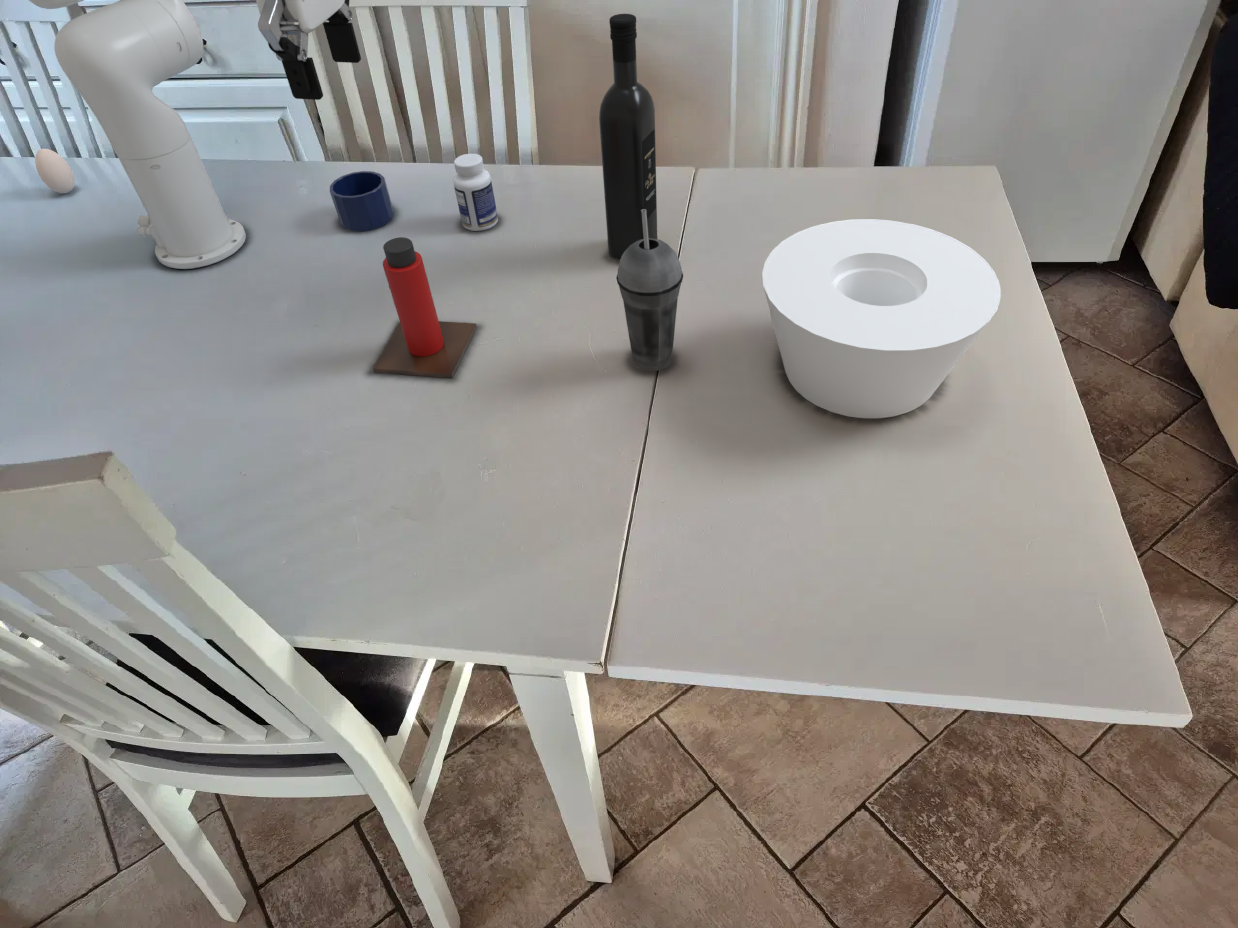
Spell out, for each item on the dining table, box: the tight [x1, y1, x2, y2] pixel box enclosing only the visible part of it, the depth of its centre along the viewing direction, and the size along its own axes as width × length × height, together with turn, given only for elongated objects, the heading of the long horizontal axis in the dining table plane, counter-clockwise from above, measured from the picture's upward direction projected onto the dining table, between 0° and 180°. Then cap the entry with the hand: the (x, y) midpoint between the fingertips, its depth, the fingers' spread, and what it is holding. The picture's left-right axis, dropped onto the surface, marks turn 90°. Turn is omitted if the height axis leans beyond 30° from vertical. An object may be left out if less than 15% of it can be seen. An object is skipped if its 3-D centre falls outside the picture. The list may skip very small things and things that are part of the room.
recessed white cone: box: [761, 218, 1002, 419], centre depth 89 cm, size 24×24×12 cm
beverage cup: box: [615, 209, 684, 372], centre depth 89 cm, size 7×7×20 cm
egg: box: [34, 148, 76, 195], centre depth 132 cm, size 5×5×7 cm
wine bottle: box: [598, 13, 658, 261], centre depth 102 cm, size 6×6×30 cm
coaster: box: [372, 320, 477, 379], centre depth 100 cm, size 10×10×1 cm
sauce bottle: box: [382, 236, 444, 357], centre depth 95 cm, size 4×4×14 cm
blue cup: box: [329, 170, 395, 232], centre depth 121 cm, size 8×8×6 cm
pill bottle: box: [452, 153, 499, 232], centre depth 117 cm, size 5×5×10 cm
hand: (329, 79), depth 88 cm, fingers open, 9 cm apart
